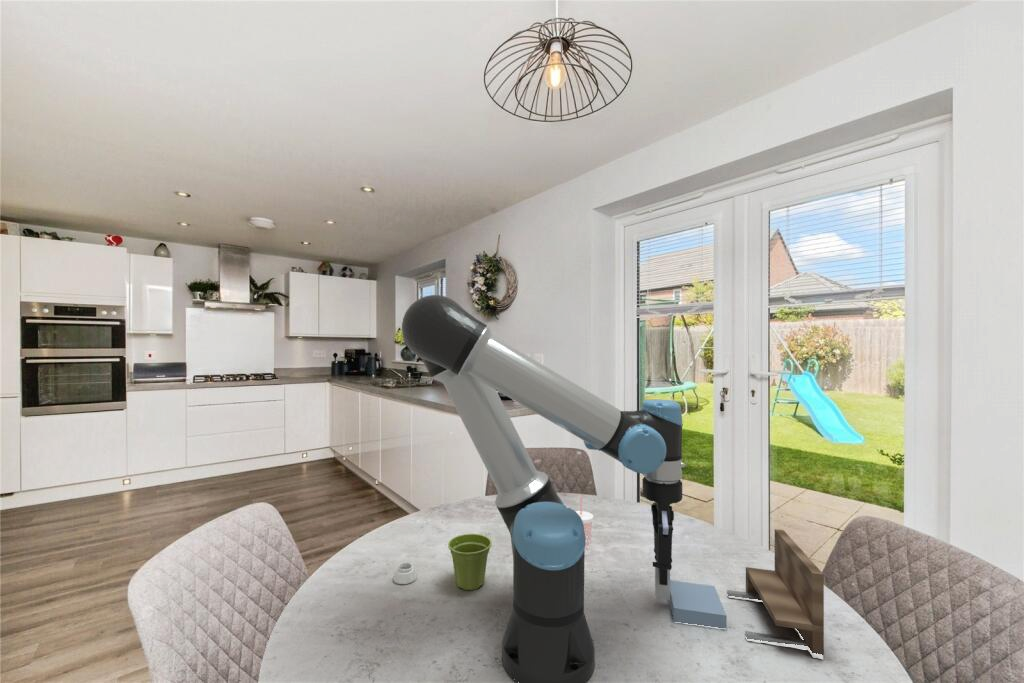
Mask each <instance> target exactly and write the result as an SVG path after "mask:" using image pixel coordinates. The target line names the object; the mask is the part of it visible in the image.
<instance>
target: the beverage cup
mask: <svg viewBox="0 0 1024 683" xmlns="http://www.w3.org/2000/svg"><path fill="white" fill-rule="evenodd" d="M579 497H580V498H579V499H580V500H579V505H580V508H579V510H574V511H575V512H576V513H577V514H578V515H579V516H580V517H581V519H582V521H583V525H584V532H585V538H586V545H585V556H588V555H590V553H591V543H592V542H591V541H592V540H591V539H592V526H593V521H594V515H593V513H590V512H588V511H585V510H583V495H582V494H580V496H579Z"/></svg>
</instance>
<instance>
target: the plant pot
mask: <svg viewBox="0 0 1024 683" xmlns="http://www.w3.org/2000/svg"><path fill="white" fill-rule="evenodd" d="M492 542H493V541H492V540H491V538H489V537H488V536H487V535H483V534H480V533H465V534H460V535H457V536H454V537H452V538H451V539H450V540H449V541H448V543H447V547H448V549H449V550H450V554H451V557H452V563H453V572H454V580H455V585H456V587H457V588H461V589H463V590H464V591H472V590H477V589H479V588H480V587H481V586H482V585H484V584H485V578H486V569H487V564H488V563H487V562H488V555H489V553H490V548H491V547H492Z"/></svg>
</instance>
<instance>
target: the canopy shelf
mask: <svg viewBox="0 0 1024 683" xmlns="http://www.w3.org/2000/svg"><path fill="white" fill-rule="evenodd" d="M824 576H825V575H824V573H823V572H822V571H821V570H820V568H818V567H817V565H816V564H815V563H814V562H813V561H812V560H811V559H810V558H809V557H808V555H807V554H806V553H805V552H804V551H803V550H802V549H801V548H800V547H799V545H798V544H797V543H796V541H794V540H793V538H791V537H790V536H789V534H787V532H786V531H785V530H784V529H779V528H774V570H772V569H765V568H755V567H747V566H746V567H745V591H738V590H731V589H726V595H727V594H728V596H735V597H742V598H749V599H758V600H762V601H763V603H762V604H763V605H764V607H765V608H766V610H767V612H768V614H769V615H770V617H771V619H772V621H773V623H774V624H775V626H777V627H784V628H791V629H794V628H796V629H797V630H798V631H799V633H800V634H801V636H802V637H803V639H804V640H802V639H800V638H793V637H789V636H781V635H776V634H768V633H761V632H755V631H749V630H745V631H744V632H745V633H744V635H745V636H746V637H747V639H754V640H760V641H761V640H762V641H768V642H777V643H785V644H795V645H796V644H797V645H804V646H808V647H809V648H810V650H811V651H812V653H816V654H817V653H818V654H822V655H824V656H825V647H824V646H825V644H824V643H825V639H824V638H825V632H824V631H825V621H824V620H825V614H824V613H825V612H824V611H825V608H824V607H825V604H824V603H825V602H824V601H825V597H824V596H825V595H824V594H825V593H824V592H825V591H824V589H825V588H824V587H825V585H824V584H825V580H824V579H825V577H824Z"/></svg>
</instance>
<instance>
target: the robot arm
mask: <svg viewBox="0 0 1024 683" xmlns="http://www.w3.org/2000/svg"><path fill="white" fill-rule="evenodd" d="M401 334H402V337H403V341H404V343H405V344H406V346H407V348H408V349H409V350H410V352H412V354H414V355H416V356H417V357H419V358H421V361H422V362H423V364H424V366H425V369H426V370H427V371H428V373H429V376H430V378H431V379H432V380H434V381H436V382H439V383H441V384H443V386H444V388H445V390H446V392H447V393H448V395H449V398H450V399H451V402H452V403H453V405H454V408H455V409H456V412H457V414H458V416H459V417H460V419H461V422H462V423H463V425H464V428H465V429H466V432H467V433H468V435H469V437H470V439H471V441H472V443H473V445H474V447H475V449H476V451H477V453H478V455H479V456H480V459H481V461H482V462H483V464H484V467H485V469H486V471H487V472H488V475H489V476H490V478H491V481H492V483H493V485H494V487H495V489H496V490H497V494H496V498H495V500H494V504H495V506H496V508H497V510H498V512H499V514H500V516H501V518H502V520H503V523H504V524H505V526H506V528H507V530H508V532H509V536H510V541H511V550H512V561H513V562H512V563H513V564H512V565H513V566H512V567H513V570H512V572H513V573H512V575H513V578H512V579H513V580H512V582H513V586H512V597H513V598H512V610H511V613H510V616H509V620H508V622H507V625H506V629H505V631H504V634H503V636H502V637H503V638H502V643H501V661H502V665H503V668H504V671H506V674H508V676H509V675H510V676H511V677H512V678H513V679H515V680H514V681H515V682H516V681H517V682H519V683H587V682H588V681H589V679H590V678H591V677H592V675H593V673H594V671H595V665H596V663H595V662H596V660H595V659H596V658H595V656H596V655H595V653H596V651H595V644H594V641H593V638H592V637H593V636H592V635H591V630H590V628H589V624H588V621H587V618H586V614H585V556H586V555H585V545H586V538H585V532H584V525H583V521H582V519H581V517H580V516H579V515H578V514H577V513H576V512H575V511H576V510H574V509H573V508H571V507H567V505H565V504H564V502H563V499H561V497H560V496H559V495H558V492H557V491H556V489H555V487H554V485H553V483H552V481H551V480H550V477H549V476H548V474H547V473H546V472H543V471H539V470H537V468H536V467H535V465H534V463H533V460H532V458H531V457H530V454H529V452H528V451H527V448H526V446H525V444H524V443H523V441H522V438H521V437H520V435H519V433H518V431H517V429H516V426H515V424H514V423H513V421H512V419H511V417H510V415H509V413H508V411H507V409H506V407H505V405H504V403H503V401H502V399H501V397H500V395H499V394H498V392H499V393H500V394H503V395H504V396H506V397H507V398H509V399H511V400H513V401H515V403H518V404H519V405H521V406H523V407H525V408H526V409H528V410H530V411H532V412H534V413H536V414H537V415H538V416H541V417H542V418H544V419H546V420H547V421H549V422H550V423H553V424H554V425H556V426H557V427H559V428H561V429H563V430H565V431H566V432H568V433H570V434H571V435H574V436H575V437H577V438H579V439H580V440H582V441H583V443H584V446H585V448H586V449H588V450H590V451H591V450H593V451H601V452H603V453H604V454H606V455H608V456H610V457H611V458H613V459H614V460H616V461H618V462H619V463H621V464H622V466H624V467H625V468H627V469H628V470H630V471H632V472H634V473H638V474H641V475H642V476H643V478H642V481H641V482H642V483H641V484H642V496H643V497H644V498H645V499H646V500H647V501H650V502H653V503H651V504H650V508H651V509H650V510H651V515H652V527H653V541H654V542H653V547H654V548H653V553H654V559H655V561H652V562H651V563H652V567H653V568H654V588H655V589H654V596H655V599H656V600H662V601H663V600H664V601H668V602H669V601H670V580H671V570H672V568H673V566H672V563H673V559H672V553H673V552H672V550H673V534H674V533H673V531H674V526H673V524H674V523H673V521H674V520H675V513H674V510H673V506H672V504H677V503H680V502H681V501H682V500H683V482H682V481H681V480H682V478H683V470H682V468H686V463H685V462H683V448H682V447H683V426H684V424H683V413H682V408H681V406H682V405H681V404H680V403H679V402H677V401H676V400H675V401H674V400H669V399H646V400H644V401H643V402H642V405H641V409H640V410H620V409H619V408H617V407H616V406H614V405H612V404H610V403H608V402H607V401H605V400H604V399H602V398H600V397H599V396H596V395H595V394H594V393H592V392H590V391H588V390H587V389H585V388H584V387H582V386H579V385H578V384H576V383H574V382H572V381H571V380H570V379H568V378H566V377H564V376H562V375H561V374H560V373H558V372H555V371H554V370H552V369H550V368H549V367H548V366H546V365H544V364H542V363H540V362H539V361H537V360H536V359H533V358H532V357H531V356H528V355H527V354H526V353H523V352H521V351H520V350H518V349H516V348H515V347H514V346H512V345H510V344H508V343H506V342H505V341H503V340H502V339H500V338H498V337H496V336H495V335H493V334H492V332H491V329H490V326H489V325H487V324H485V323H484V322H482V321H481V320H479V318H478V319H477V318H476V317H474V316H473V315H472V314H470V313H469V312H468V311H467V310H466V309H464V308H463V307H462V306H461V305H460V304H459V303H458V302H456V301H455V300H454V299H452V298H450V297H448V296H445V295H439V294H431V295H425V296H423V297H420V298H418V299H416V300H415V301H414V302H413V303H411V304H410V305H409V306H408V308H407V309H406V311H405V313H404V315H403V318H402V323H401ZM510 676H509V677H510ZM511 677H510V678H511ZM512 678H511V679H512ZM513 679H512V680H513ZM517 682H516V683H517Z"/></svg>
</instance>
